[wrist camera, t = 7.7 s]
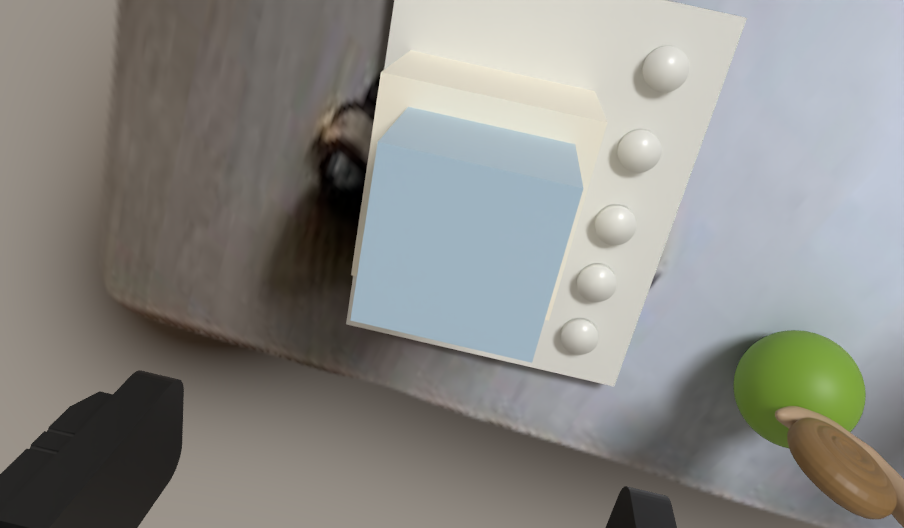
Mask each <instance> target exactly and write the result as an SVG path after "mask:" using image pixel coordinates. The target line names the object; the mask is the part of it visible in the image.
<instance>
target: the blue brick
mask: <svg viewBox="0 0 904 528" xmlns="http://www.w3.org/2000/svg"><path fill="white" fill-rule="evenodd" d="M582 192H583V183H582V178H581V173H580V167H579V162H578V156H577V151H576V146H575V144H572V143H567V142H563V141H558V140H554V139H549V138H545V137H540V136H536V135H532V134H527V133H523V132H518V131H514V130H509V129H505V128H500V127H496V126H492V125H487V124H483V123H478V122H474V121H469V120H465V119H461V118H456V117H452V116H447V115H443V114H438V113H434V112H429V111H425V110H421V109H416V108H412V107H408V108H407V109H406V110H405V111H404V112H403V113H402V114H401V116H400V117H399V118H398V119H397V120H396V121H395V123H394V124H393V125H392V126H391V127H390V128H389V129H388V131H387V132H386V133H385V134H384V135H383V136H382V138H381V139H380V140H379V141H378V144H377V150H376V157H375V163H374V170H373V176H372V183H371V189H370V196H369V202H368V209H367V215H366V222H365V228H364V235H363V241H362V248H361V254H360V261H359V267H358V274H357V280H356V287H355V293H354V300H353V306H352V313H351V319H350V320H351V321H355V322H359V323H364V324H368V325H372V326H376V327H381V328H385V329H389V330H394V331H398V332H402V333H406V334H411V335H415V336H419V337H424V338H428V339H432V340H436V341H441V342H445V343H449V344H454V345H458V346H462V347H466V348H471V349H475V350H479V351H484V352H488V353H492V354H496V355H501V356H505V357H509V358H514V359H518V360H522V361H526V362H531V363H532V361H533V358H534V354H535V351H536V348H537V344H538V341H539V337H540V334H541V331H542V327H543V324H544V320H545V317H546V314H547V310H548V307H549V304H550V300H551V297H552V293H553V290H554V287H555V283H556V280H557V276H558V273H559V270H560V266H561V263H562V259H563V256H564V253H565V249H566V246H567V243H568V239H569V236H570V232H571V229H572V226H573V222H574V219H575V215H576V212H577V209H578V205H579V202H580V198H581V195H582Z"/></svg>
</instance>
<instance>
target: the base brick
mask: <svg viewBox="0 0 904 528" xmlns="http://www.w3.org/2000/svg"><path fill="white" fill-rule="evenodd" d="M408 107H412V108H416V109H421V110H425V111H429V112H434V113H438V114H443V115H447V116H452V117H456V118H461V119H465V120H469V121H474V122H478V123H483V124H487V125H492V126H496V127H500V128H505V129H509V130H514V131H518V132H523V133H527V134H532V135H536V136H540V137H545V138H549V139H554V140H558V141H563V142H567V143H572V144H575V146H576V151H577V156H578V162H579V167H580V173H581V178H582V183H583V192H582V195H581V198H580V202H579V205H578V209H577V212H576V215H575V219H574V222H573V226H572V229H571V232H570V236H569V239H568V243H567V246H566V249H565V253H564V256H563V259H562V263H561V266H560V270H559V273H558V276H557V280H556V283H555V287H554V290H553V293H552V297H551V300H550V304H549V307H548V310H547V314H546V317H545V320H548V321H549V319H550V315H551V312H552V308H553V305H554V302H555V298H556V295H557V292H558V288H559V285H560V281H561V278H562V275H563V271H564V268H565V265H566V261H567V258H568V254H569V251H570V248H571V244H572V241H573V238H574V234H575V231H576V227H577V224H578V221H579V217H580V214H581V211H582V207H583V204H584V200H585V197H586V194H587V190H588V187H589V184H590V180H591V177H592V173H593V170H594V167H595V163H596V160H597V157H598V153H599V150H600V146H601V143H602V140H603V136H604V133H605V130H606V126H607V123H608V122H607V120H606V117H605V115H604V112H603V110H602V107H601V105H600V102H599V100H598V98H597V95H596V93H595V91H592V90H588V89H583V88H579V87H574V86H570V85H565V84H561V83H556V82H552V81H547V80H542V79H538V78H533V77H529V76H524V75H520V74H515V73H511V72H506V71H502V70H497V69H493V68H488V67H484V66H479V65H475V64H470V63H466V62H461V61H457V60H452V59H448V58H443V57H439V56H434V55H430V54H425V53H421V52H416V51H412V50H410V51H409V52H408V53H406V54H405V55H404V56H402V57H401V58H399V59H398V60H397V61H395V62H394V63H393V64H391V65H390V66H389V67H387V68H386V69H384V70H383V71H382V72H381V75H380V82H379V89H378V96H377V102H376V109H375V116H374V123H373V130H372V136H371V143H370V150H369V157H368V163H367V170H366V177H365V184H364V190H363V197H362V204H361V211H360V218H359V224H358V231H357V238H356V245H355V251H354V258H353V265H352V272H351V275H352V276H357V274H358V267H359V261H360V254H361V248H362V241H363V235H364V228H365V222H366V215H367V209H368V202H369V196H370V189H371V183H372V176H373V170H374V163H375V157H376V150H377V144H378V141H379V140H380V139H381V138H382V136H383V135H384V134H385V133H386V132H387V131H388V129H389V128H390V127H391V126H392V125H393V124H394V123H395V121H396V120H397V119H398V118H399V117H400V116H401V114H402V113H403V112H404V111H405V110H406V109H407V108H408Z"/></svg>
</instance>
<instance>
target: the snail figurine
mask: <svg viewBox="0 0 904 528" xmlns="http://www.w3.org/2000/svg"><path fill="white" fill-rule="evenodd" d="M734 395H735V400H736V403H737V406H738V408H739V411H740V413H741V414H742V416H743V418H744V419H745V421H746V422H747V423H748V424H749V425H750V427H751V428H752V429H753V430H754V431H756V432H757V433H758V434H759V435H760V436H762V437H763V438H765V439H767V440H768V441H770V442H772V443H774V444H776V445H779V446H782V447H785V448H789V449H790V451H791V453H792V455H793V457H794V459H795V461H796V462H797V464H798V465H799V467H800V468H801V469H802V470H803V472H804V473H805V474H806V475H807V477H808V478H809V479H810V480H811V481H812V482H813V483H814V484H815V485H816V486H817V487H818V488H819V489H820V490H821V491H822V492H823V493H825V494H826V495H827V496H828V497H829V498H831V499H832V500H833V501H834V502H836V503H837V504H839V505H840V506H842V507H843V508H845V509H846V510H848V511H850V512H852V513H854V514H856V515H859V516H861V517H864V518H868V519H882V518H884V517H886V516H888V515H890V514H892V515H893V516H894V518H895V519H896V520H897V521H898V522H899V523H900V524H901V525H902V526H903V527H904V479H903V478H902V477H901V476H900V475H899V474H898V473H897V472H896V471H895V470H894V469H893V468H892V467H891V466H890V465H889V464H888V463H887V462H886V461H885V460H884V459H883V458H882V457H881V456H880V455H879V454H878V453H877V452H876V451H875V450H874V449H873V448H872V447H870V446H869V445H868V444H866V443H865V442H863V441H862V440H860V439H858V438H857V437H856V436H854V435H853V434H851V433H850V432H851V431H852V430H853V429H854V427H855V426H856V425H857V423H858V421H859V420H860V417H861V415H862V413H863V409H864V405H865V385H864V381H863V377H862V375H861V372H860V370H859V368H858V366H857V364H856V363H855V361H854V360H853V359H852V357H851V356H850V355H849V354H848V353H847V352H846V351H845V350H844V349H843V348H842V347H840V346H839V345H838V344H836V343H835V342H833V341H832V340H830V339H828V338H826V337H823V336H821V335H818V334H815V333H811V332H807V331H797V330H791V331H782V332H777V333H774V334H771V335H768V336H766V337H764V338H762V339H760V340H759V341H757V342H756V343H754V344H753V345H752V346H751V347H750V348H749V349H748V350H747V351H746V352H745V353H744V355H743V356H742V358H741V359H740V361H739V363H738V366H737V368H736V371H735V376H734Z"/></svg>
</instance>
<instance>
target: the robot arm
mask: <svg viewBox="0 0 904 528" xmlns="http://www.w3.org/2000/svg"><path fill="white" fill-rule="evenodd" d="M183 392H184V389H183V383H182V382H181V380H178V379H174V378H170V377H166V376H162V375H157V374H153V373H149V372H145V371H136V372H135V373H134V374H132V375H131V376H130V377H129V378H128V379H127V381H126V382H125V383H124V384H123V385H122V386H121V387H120V388H119V389H118V390H117V391H116V392H115V393H114V394H113V395H112V394H108V393H104V392H98V393H96V394H94V395H92V396H90V397H88V398H86V399H84V400H82V401H80V402H78V403H76V404H74V405H72V406H70V407H69V408H68V409H67V410H66V411H65V412H64V413H63V414H62V415H61V416H60V417H59V418H58V419H57V420H56V421H55V422H54V423H53V424H52V425H51V426H50V427H49V429H48V431H47V432H45V431H44V432H43V433H42V434H41V435H40V436H39V437H38V438H37V439H36V440H35V441H34V442H33V443H32V444H31V447H30V449H26V450H25V451H24V452H23V453H22V454H21V455H20V456H19V457H18V458H17V459H16V460H15V461H14V462H13V463H12V464H10V466H8V467H7V469H6V470H4V471H3V472H2V473H1V474H0V528H137V527H138V526H139V524H140V523H141V521H142V520H143V518H144V517H145V516H146V514H147V513H148V511H149V510H150V509H151V507H152V506H153V504H154V503H155V501H156V500H157V499H158V497H159V496H160V494H161V493H162V491H163V490H164V488H165V487H166V485H167V484H168V483H169V481H170V480H171V478H172V476H173V474H174V472H175V469H176V467H177V465H178V462H179V458H180V454H181V449H182V428H183V427H182V426H183V396H184V393H183ZM606 528H677V526H676V522H675V518H674V514H673V509H672V505H671V502H670V500H669V498H668V497H667V496H665V495H660V494H656V493H652V492H648V491H643V490H639V489H635V488H630V487H627V486H626V487H624V488H622V490H621V491H620V494H619V496H618V498H617V501H616V503H615V506H614V508H613V511H612V513H611V515H610V518H609V521H608V523H607V526H606Z"/></svg>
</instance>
